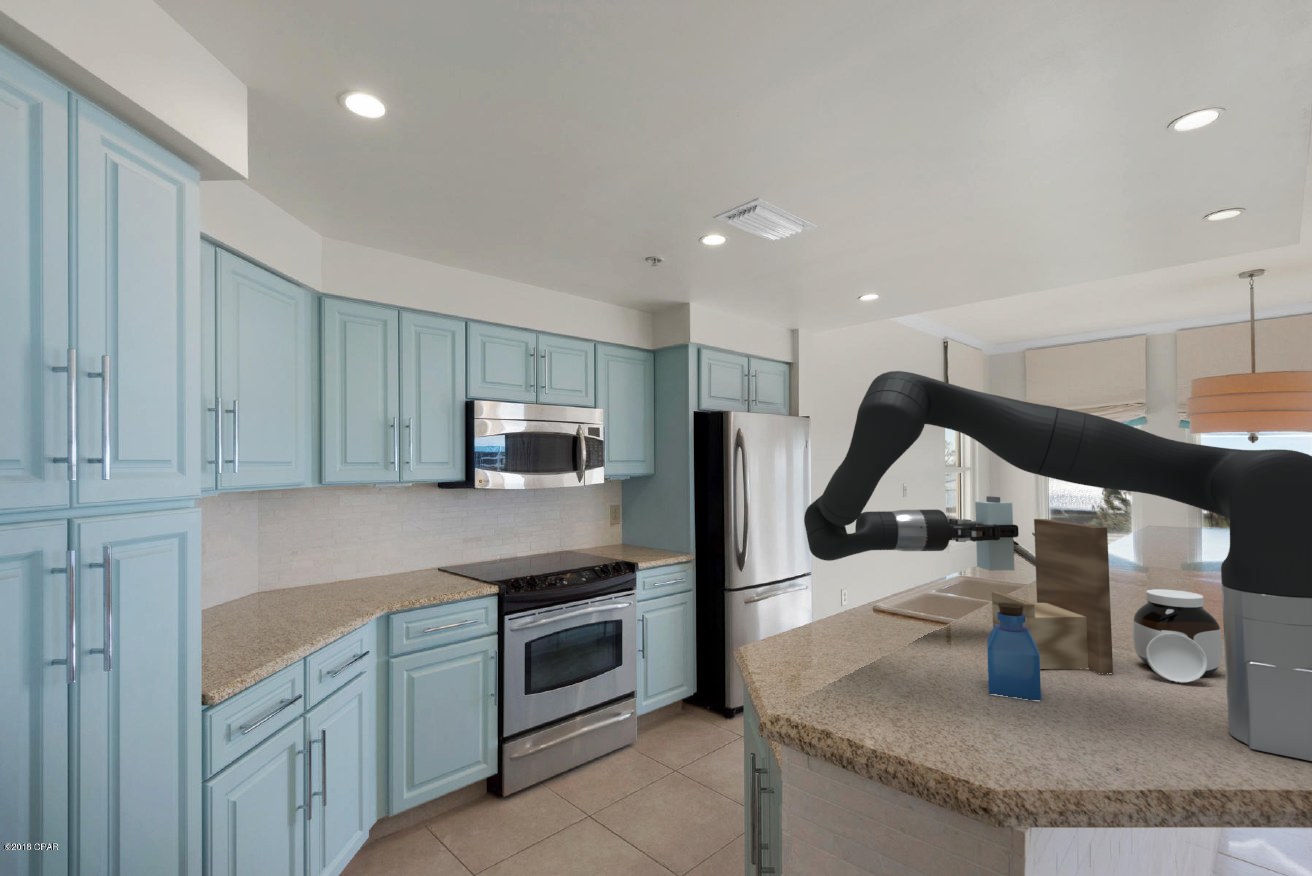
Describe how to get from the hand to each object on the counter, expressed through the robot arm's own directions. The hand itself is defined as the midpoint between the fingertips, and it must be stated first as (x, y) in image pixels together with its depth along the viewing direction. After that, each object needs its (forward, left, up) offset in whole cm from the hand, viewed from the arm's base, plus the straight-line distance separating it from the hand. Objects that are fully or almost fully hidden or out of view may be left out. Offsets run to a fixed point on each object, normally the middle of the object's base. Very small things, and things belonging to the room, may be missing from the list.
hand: (1008, 529), depth 115 cm
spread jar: (-6, -23, -20) cm, 31 cm away
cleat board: (-10, -7, -20) cm, 23 cm away
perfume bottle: (-29, -5, -20) cm, 36 cm away
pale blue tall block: (-2, +2, -7) cm, 8 cm away
